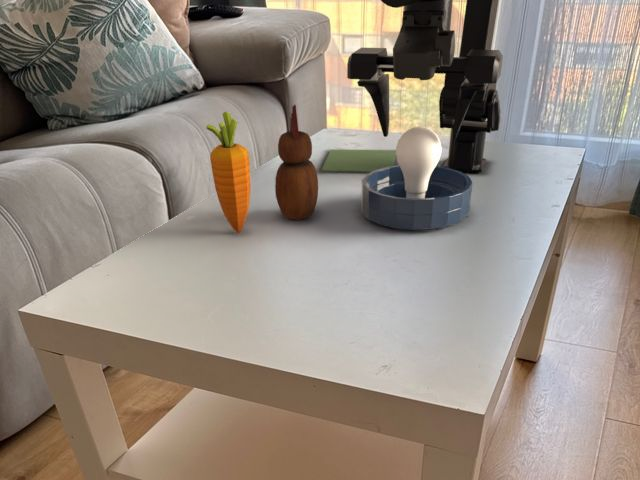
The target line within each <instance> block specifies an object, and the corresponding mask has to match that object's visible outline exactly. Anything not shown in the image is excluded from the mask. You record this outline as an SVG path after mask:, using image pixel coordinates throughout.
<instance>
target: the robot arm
mask: <svg viewBox="0 0 640 480" xmlns="http://www.w3.org/2000/svg"><path fill="white" fill-rule="evenodd" d="M380 1H381V3H383V5H386V6H387V7H390V8H393V9H394V8H395V9H398V8H402V7H403V11H402V18H401V27H400V30H399V33H398V35H397V38H396V40H395V42H394V45H393V47H392V55H389V53H388V50H387V47H360V48H358V49H356V50H355V51H354V52H352V53H351V54H350V55H349V56H348V59H347V64H346V68H347V69H346V72H347V73H346V74H347V77H346V79H349V80H358V81H357V82H356V83H357V86H358V87H362V88H364V89H365V90H366V92H368V94H369V96H370V98H371V100H372V102H373V105H374V107H375V108H374V109H375V111H376V114H377V117H378V121H379V125H380V129H381V132H382V135H383V137H384V138H387V137H388V136H389V132H390V74H389V73H393V77H394V78H395V79H396V80H401V81H403V80H405V79H418V80H420V81H428V80H429V81H430V80H431V79H432V78H434V76H435V74H438V75H439V74H441V75H444V84H443V87H442V88H441V91H440V96H439V99H438V110H439V128H440V129H450V135H449V146H448V157H447V158H446V159H445V160H446V161H445V162H444V164H443V165H442V167H447V168H451V169H454V170H457V171H460V172H463V173H464V172H465V173H483V171H484V168H485V165H486V163H487V159H486V158H484V152H485V145H486V144H485V143H486V136H487V133H488V134H490V133H492V132H496V131H497V132H498V131H499V130H500V124H501V123H500V122H501V113H502V112H501V106H500V104H501V103H500V99H499V91H498V90H497V83H498V81H499V79H500V77H501V75H502V67H503V61H504V60H503V57H504V55H503V54H502V53H501V51H500V50H499V49H492V46H493V40H494V32H495V26H496V20H497V15H498V8H499V7H498V6H499V0H466V2H465V10H464V18H463V26H462V33H461V41H460V47H459V48H460V49H459V55H458V56H455V53H456V52H455V51H456V50H455V49H456V31H455V30H454V29H453V30H451V26H452V24H451V23H452V13H453V2H454V1H453V0H380Z"/></svg>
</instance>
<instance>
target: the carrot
mask: <svg viewBox="0 0 640 480" xmlns="http://www.w3.org/2000/svg"><path fill="white" fill-rule="evenodd" d="M222 118H223V121H221V122H219V123H218V126H219V129H220V130H219V129H218V128H217V127H216V126H215V125H212V124H210V123H208V124H207V125H206V127H205V129H206V130H207V131H210V132H212V133H213V134H214V135H215V137H216V138H217V139H218V140H219V142H220V143H221V144H218V145H217V146H215V147H214V148H213V149H212V150H211V152H210V157H209V159H210V160H209V161H210V165H211V173H212V178H213V183H214V189H215V192H216V195H217V199H218V202H219V204H220V208H221V211H222V213H223V215H224V217H225V219H226V220H227V222H228V224H229V225H230V227H231V228H232V230H233V231H234V232H235V233H237V234H239V233H241V232H242V230H243V228H244V225H245V223H246V221H247V218H248V217H247V216H248V213H249V210H250V201H251V188H252V187H251V186H252V185H251V165H250V155H249V150H248V149H247V148H246V147H245V146H243V145H241V144H239V143H235V140H234V139H235V134H236V130H237V125H238V121H237V120H236V119H235V118H232V115H231V113H230V112H229V111H224V112H222Z"/></svg>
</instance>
